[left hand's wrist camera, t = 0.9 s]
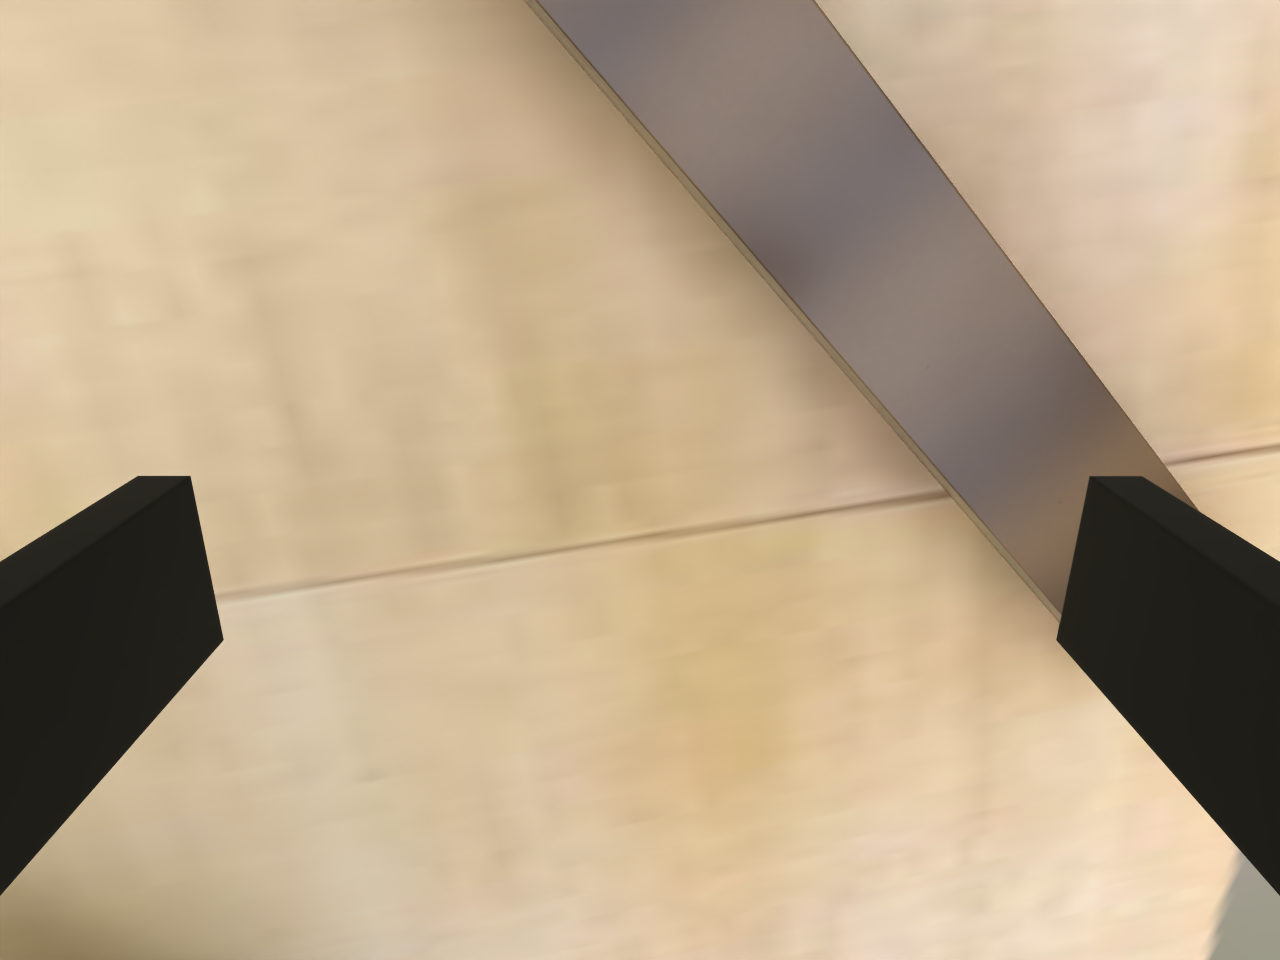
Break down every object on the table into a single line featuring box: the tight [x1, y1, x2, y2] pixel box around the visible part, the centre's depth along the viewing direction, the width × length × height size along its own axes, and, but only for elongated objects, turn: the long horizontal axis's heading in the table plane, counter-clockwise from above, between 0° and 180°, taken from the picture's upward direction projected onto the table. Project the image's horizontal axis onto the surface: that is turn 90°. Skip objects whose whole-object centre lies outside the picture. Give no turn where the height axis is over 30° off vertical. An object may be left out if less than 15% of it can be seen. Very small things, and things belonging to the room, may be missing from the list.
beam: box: [524, 0, 1199, 623], centre depth 28 cm, size 53×6×8 cm, turn 43°
